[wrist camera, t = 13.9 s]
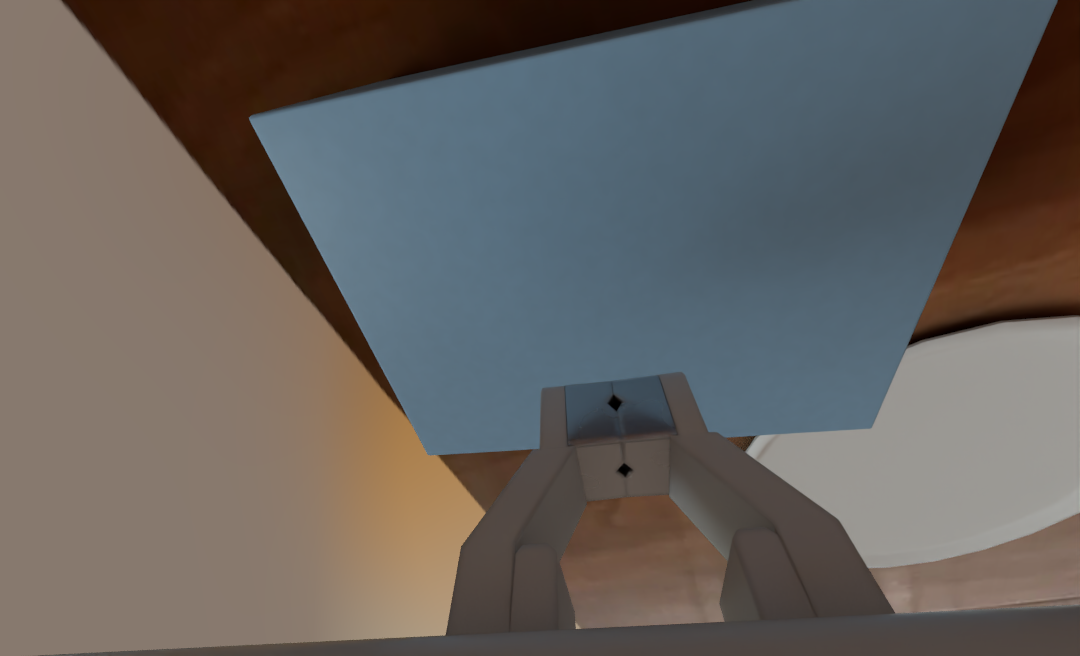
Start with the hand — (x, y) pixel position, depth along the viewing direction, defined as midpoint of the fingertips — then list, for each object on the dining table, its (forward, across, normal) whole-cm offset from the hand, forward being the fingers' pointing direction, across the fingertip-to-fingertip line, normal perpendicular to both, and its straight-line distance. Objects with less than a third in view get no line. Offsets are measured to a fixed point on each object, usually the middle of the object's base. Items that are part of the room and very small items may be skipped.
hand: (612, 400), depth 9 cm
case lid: (+5, -1, 0) cm, 5 cm away
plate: (+14, -24, +25) cm, 37 cm away
